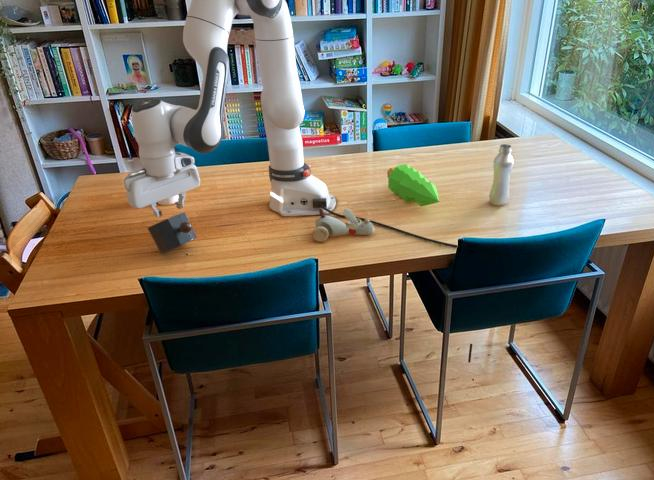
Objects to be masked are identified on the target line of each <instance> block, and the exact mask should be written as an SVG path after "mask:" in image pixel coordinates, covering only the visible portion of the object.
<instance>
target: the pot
mask: <svg viewBox="0 0 654 480" xmlns="http://www.w3.org/2000/svg"><path fill="white" fill-rule="evenodd" d="M147 231H148V233H149V235H150V236H151V238H152V240H153V242H154V244H155V246H156V248H157V250H158V252H159V253H160V254H164V253H168V252H169V251H172V250H174V249H176V248H179V247H180V246H183V245H185V244H187V243H189V242H191V241H193V240H195V239H197V234H196V232H195V230H194V228H193V225H192V224H191V222H190V220H189V217H188V216H187V214H186V212H185V211H183V212H181V213H178V214H175V215H173V216H170V217H169V218H166V219H164V220H162V221H159V222H157V223H155V224H153V225H150V226H148V227H147Z"/></svg>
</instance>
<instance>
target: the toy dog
mask: <svg viewBox="0 0 654 480" xmlns="http://www.w3.org/2000/svg"><path fill="white" fill-rule="evenodd" d="M319 212H320V216H318V217H317V218H316V220H315V228H314V229H313V231H312V235H313V239H314V240H315V241H317V242H320V243H323V242H326V241H327V240H328V238H329V237H339V236H345V235H348V234H349V235H351V236H354V235H359V236H371V235H373V234H374V232H375V226H374V224H373V223H371V222H369V220H370V219H369V218H364V219H365V221H364V222H363V221H362V220H360V219H358V218H356V217H357V216H356V215H355V214H354V212H353V210H352V209H350V208H344V210H343V212H342V213H343V214H342V215H344V216H345V217H346V218H345V219H347V220H348V221H346V222H343V221H341V220H340V219H338V218H336V217H334V216H331V215H326V214H324V212H323V210H322V209H321V208H320V209H319Z"/></svg>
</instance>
